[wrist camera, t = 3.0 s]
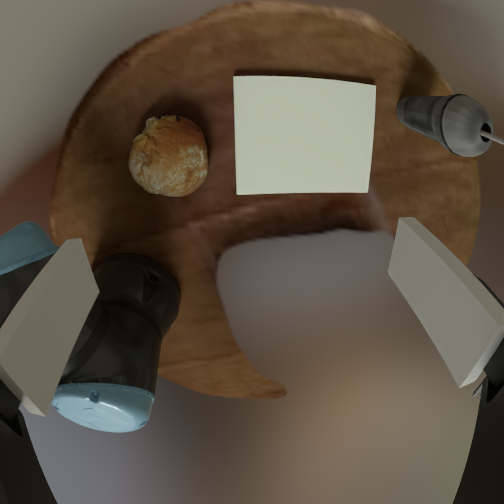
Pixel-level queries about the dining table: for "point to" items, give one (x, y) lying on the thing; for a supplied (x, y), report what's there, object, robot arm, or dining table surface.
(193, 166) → the bread roll
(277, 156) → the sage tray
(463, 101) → the beverage cup
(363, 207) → the dining table surface
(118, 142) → the dining table surface
